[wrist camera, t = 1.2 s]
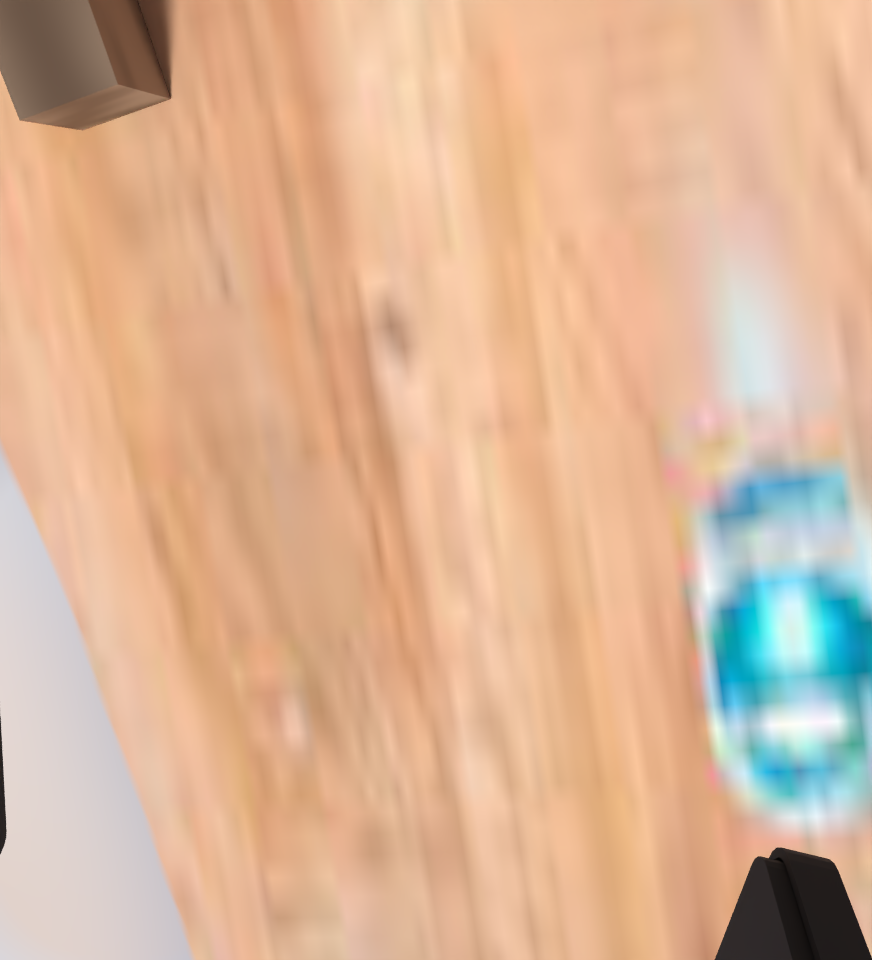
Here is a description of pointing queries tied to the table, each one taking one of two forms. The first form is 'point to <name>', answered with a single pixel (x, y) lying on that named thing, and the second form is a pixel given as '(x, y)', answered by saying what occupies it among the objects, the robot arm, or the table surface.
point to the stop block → (78, 61)
